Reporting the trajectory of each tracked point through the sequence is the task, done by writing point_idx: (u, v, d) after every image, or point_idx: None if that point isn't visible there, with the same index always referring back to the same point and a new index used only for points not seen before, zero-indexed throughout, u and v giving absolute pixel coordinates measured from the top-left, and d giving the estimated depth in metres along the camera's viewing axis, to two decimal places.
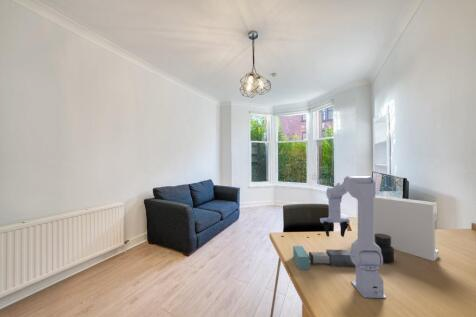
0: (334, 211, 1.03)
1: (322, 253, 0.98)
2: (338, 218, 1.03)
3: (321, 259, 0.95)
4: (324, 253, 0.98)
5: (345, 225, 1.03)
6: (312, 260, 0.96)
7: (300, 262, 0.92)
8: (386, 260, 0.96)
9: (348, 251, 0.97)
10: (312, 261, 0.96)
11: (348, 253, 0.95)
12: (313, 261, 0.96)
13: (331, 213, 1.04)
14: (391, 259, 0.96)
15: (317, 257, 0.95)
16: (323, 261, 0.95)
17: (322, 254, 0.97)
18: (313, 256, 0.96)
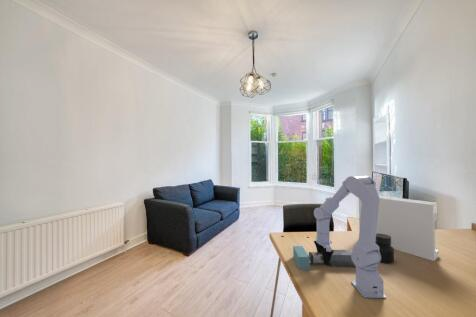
0: None
1: None
2: (318, 239, 0.97)
3: (321, 259, 0.95)
4: None
5: (320, 250, 0.93)
6: (312, 260, 0.96)
7: (300, 262, 0.92)
8: (386, 260, 0.96)
9: (348, 251, 0.97)
10: (312, 261, 0.96)
11: (348, 253, 0.95)
12: (313, 261, 0.96)
13: None
14: (391, 259, 0.96)
15: (317, 257, 0.95)
16: None
17: None
18: (313, 256, 0.96)
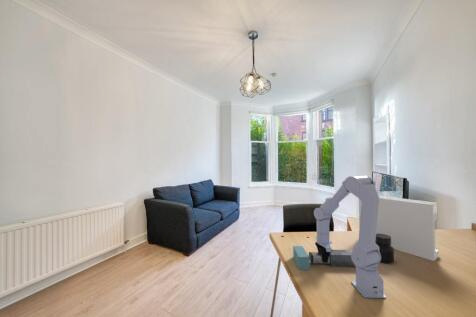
0: None
1: None
2: (318, 239, 0.96)
3: (321, 259, 0.95)
4: None
5: (319, 249, 0.95)
6: (312, 260, 0.96)
7: (300, 262, 0.92)
8: (386, 260, 0.96)
9: (348, 251, 0.97)
10: (312, 261, 0.96)
11: (348, 253, 0.95)
12: (313, 261, 0.96)
13: None
14: (391, 259, 0.96)
15: (317, 257, 0.95)
16: None
17: None
18: (313, 256, 0.96)
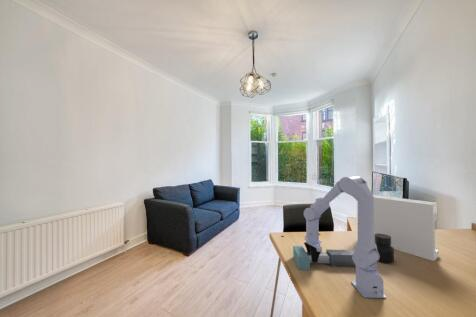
0: (306, 231, 0.98)
1: None
2: (308, 240, 0.96)
3: (311, 259, 0.96)
4: None
5: (309, 249, 0.94)
6: None
7: (300, 262, 0.92)
8: (386, 260, 0.96)
9: (348, 251, 0.97)
10: None
11: (348, 253, 0.95)
12: None
13: None
14: (391, 259, 0.96)
15: None
16: None
17: None
18: None
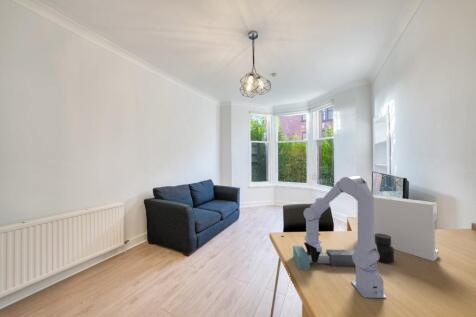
0: (306, 231, 0.98)
1: None
2: (308, 240, 0.96)
3: (311, 259, 0.96)
4: None
5: (309, 249, 0.94)
6: None
7: (300, 262, 0.92)
8: (386, 260, 0.96)
9: (348, 251, 0.97)
10: None
11: (348, 253, 0.95)
12: None
13: None
14: (391, 259, 0.96)
15: None
16: None
17: None
18: None
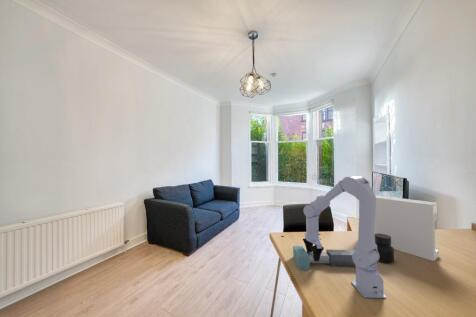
0: (306, 228, 0.98)
1: (312, 253, 0.98)
2: (308, 237, 0.96)
3: (311, 259, 0.96)
4: None
5: (311, 247, 0.93)
6: None
7: (300, 262, 0.92)
8: (386, 260, 0.96)
9: (348, 251, 0.97)
10: None
11: (348, 253, 0.95)
12: None
13: None
14: (391, 259, 0.96)
15: None
16: (313, 261, 0.96)
17: (312, 254, 0.97)
18: None
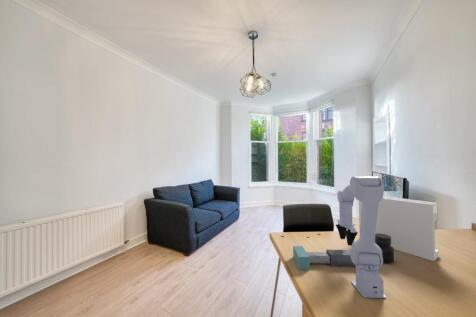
0: (339, 214, 1.01)
1: (312, 253, 0.98)
2: (341, 222, 0.99)
3: (311, 259, 0.96)
4: (314, 253, 0.98)
5: (344, 231, 0.95)
6: None
7: (300, 262, 0.92)
8: (386, 260, 0.96)
9: (348, 251, 0.97)
10: None
11: (348, 253, 0.95)
12: None
13: None
14: (391, 259, 0.96)
15: None
16: (313, 261, 0.96)
17: (312, 254, 0.97)
18: None
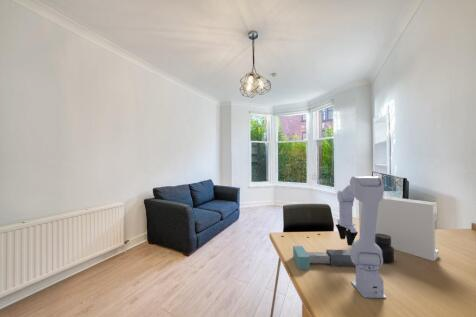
0: (339, 214, 1.01)
1: (312, 253, 0.98)
2: (341, 222, 0.99)
3: (311, 259, 0.96)
4: (314, 253, 0.98)
5: (344, 231, 0.95)
6: None
7: (300, 262, 0.92)
8: (386, 260, 0.96)
9: (348, 251, 0.97)
10: None
11: (348, 253, 0.95)
12: None
13: None
14: (391, 259, 0.96)
15: None
16: (313, 261, 0.96)
17: (312, 254, 0.97)
18: None
